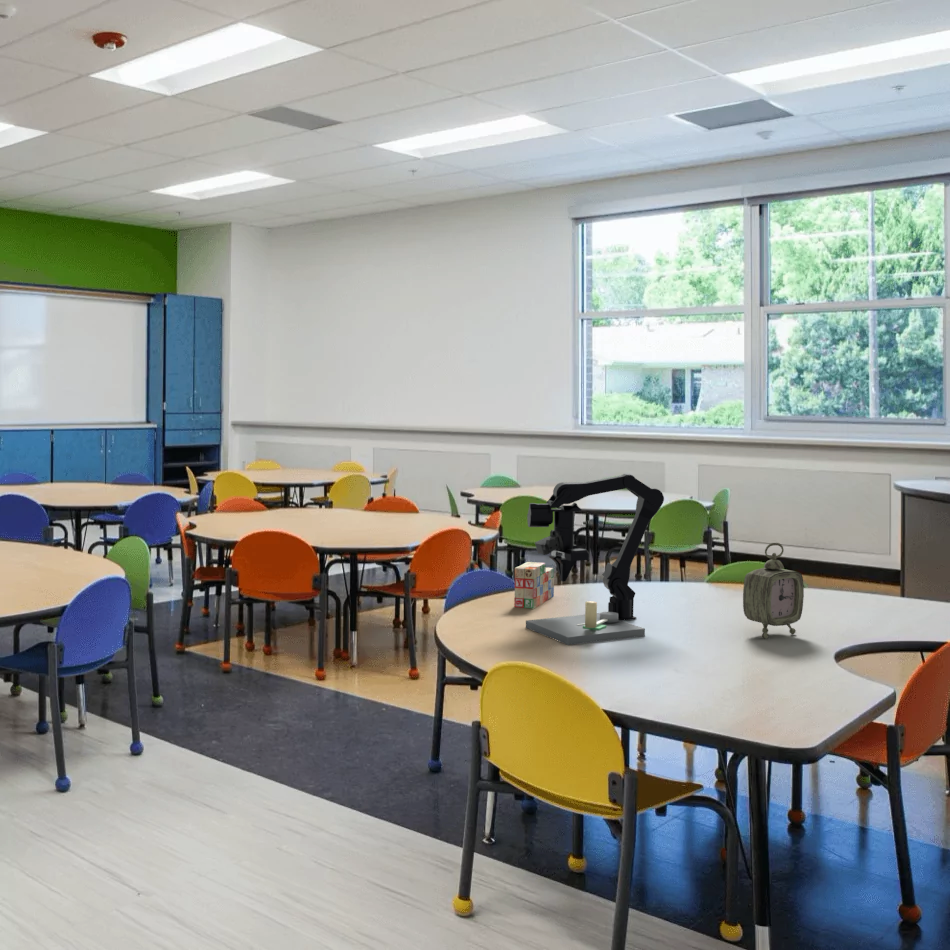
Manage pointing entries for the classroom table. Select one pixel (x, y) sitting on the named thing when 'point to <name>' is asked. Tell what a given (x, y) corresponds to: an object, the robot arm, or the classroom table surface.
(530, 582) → the stack of blocks
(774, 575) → the tabletop clock
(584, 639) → the gauge plate
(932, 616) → the classroom table surface
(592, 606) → the beige and grey mallet
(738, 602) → the classroom table surface
